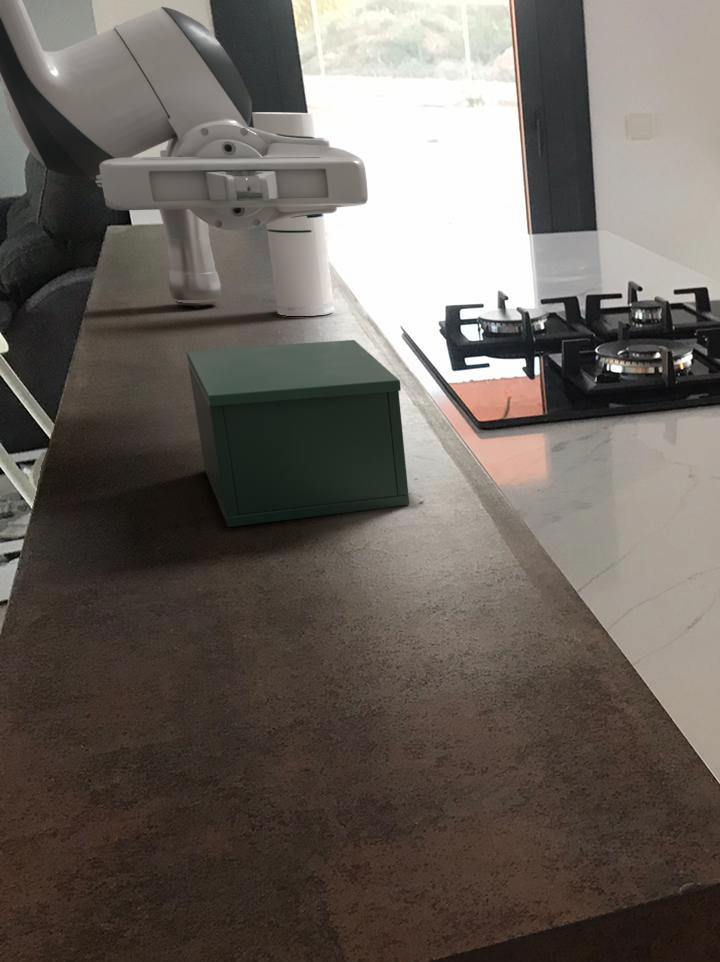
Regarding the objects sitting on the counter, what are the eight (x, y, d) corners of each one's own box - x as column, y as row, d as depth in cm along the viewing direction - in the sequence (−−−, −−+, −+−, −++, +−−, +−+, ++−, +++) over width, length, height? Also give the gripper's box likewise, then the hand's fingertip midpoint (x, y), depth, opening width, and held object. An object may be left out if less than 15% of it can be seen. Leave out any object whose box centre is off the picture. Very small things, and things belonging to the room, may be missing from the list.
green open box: (409, 505, 96) (398, 388, 92) (228, 527, 90) (209, 404, 87) (366, 453, 108) (355, 350, 105) (205, 471, 103) (188, 361, 99)
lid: (401, 391, 92) (400, 379, 91) (210, 407, 86) (208, 395, 86) (355, 349, 105) (354, 339, 105) (187, 361, 99) (186, 350, 99)
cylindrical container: (345, 312, 172) (324, 114, 163) (302, 319, 167) (277, 114, 157) (309, 306, 176) (286, 112, 166) (266, 313, 170) (239, 112, 161)
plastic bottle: (215, 300, 178) (193, 149, 171) (230, 307, 174) (208, 151, 166) (165, 304, 175) (141, 149, 167) (180, 311, 170) (155, 152, 162)
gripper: (87, 138, 106) (91, 147, 94) (344, 137, 115) (376, 145, 104) (101, 218, 108) (107, 235, 97) (352, 210, 117) (384, 226, 106)
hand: (248, 189), depth 100 cm, fingers closed
